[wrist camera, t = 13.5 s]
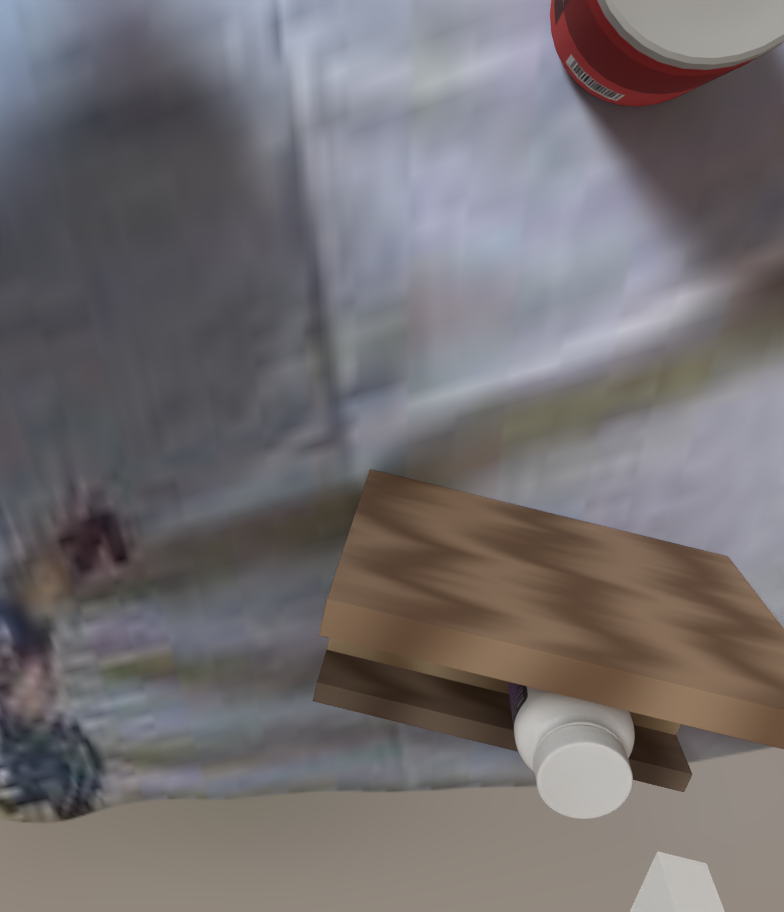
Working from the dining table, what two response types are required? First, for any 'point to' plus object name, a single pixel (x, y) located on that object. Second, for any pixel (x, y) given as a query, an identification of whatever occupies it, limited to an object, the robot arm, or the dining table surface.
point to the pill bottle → (574, 750)
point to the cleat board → (543, 625)
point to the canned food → (660, 43)
